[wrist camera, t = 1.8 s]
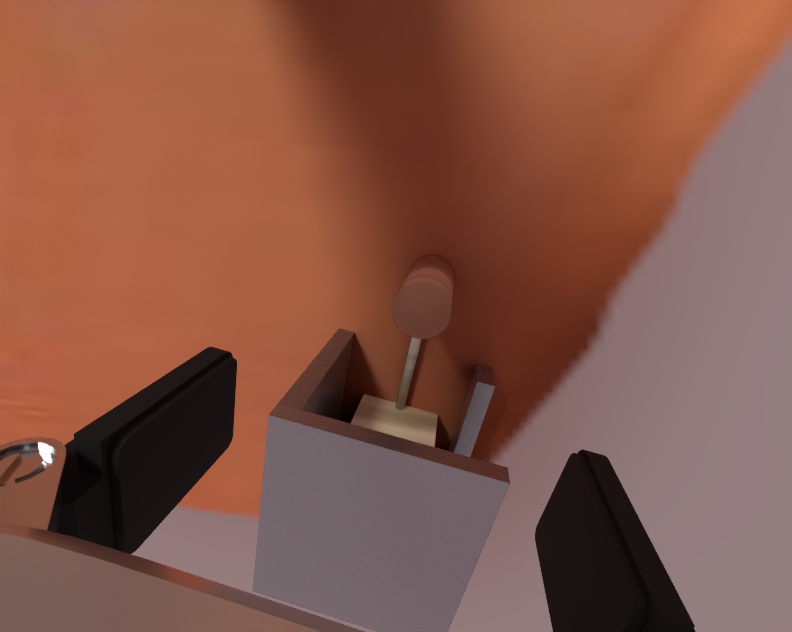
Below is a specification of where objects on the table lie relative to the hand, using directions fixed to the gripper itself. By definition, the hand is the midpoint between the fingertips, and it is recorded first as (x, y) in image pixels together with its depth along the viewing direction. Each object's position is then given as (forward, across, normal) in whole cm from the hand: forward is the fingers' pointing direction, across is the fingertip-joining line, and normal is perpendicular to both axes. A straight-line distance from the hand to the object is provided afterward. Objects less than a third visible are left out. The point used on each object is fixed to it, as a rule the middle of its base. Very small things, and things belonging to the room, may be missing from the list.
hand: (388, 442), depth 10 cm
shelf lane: (+17, 0, +11) cm, 20 cm away
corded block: (+17, 0, +7) cm, 18 cm away
